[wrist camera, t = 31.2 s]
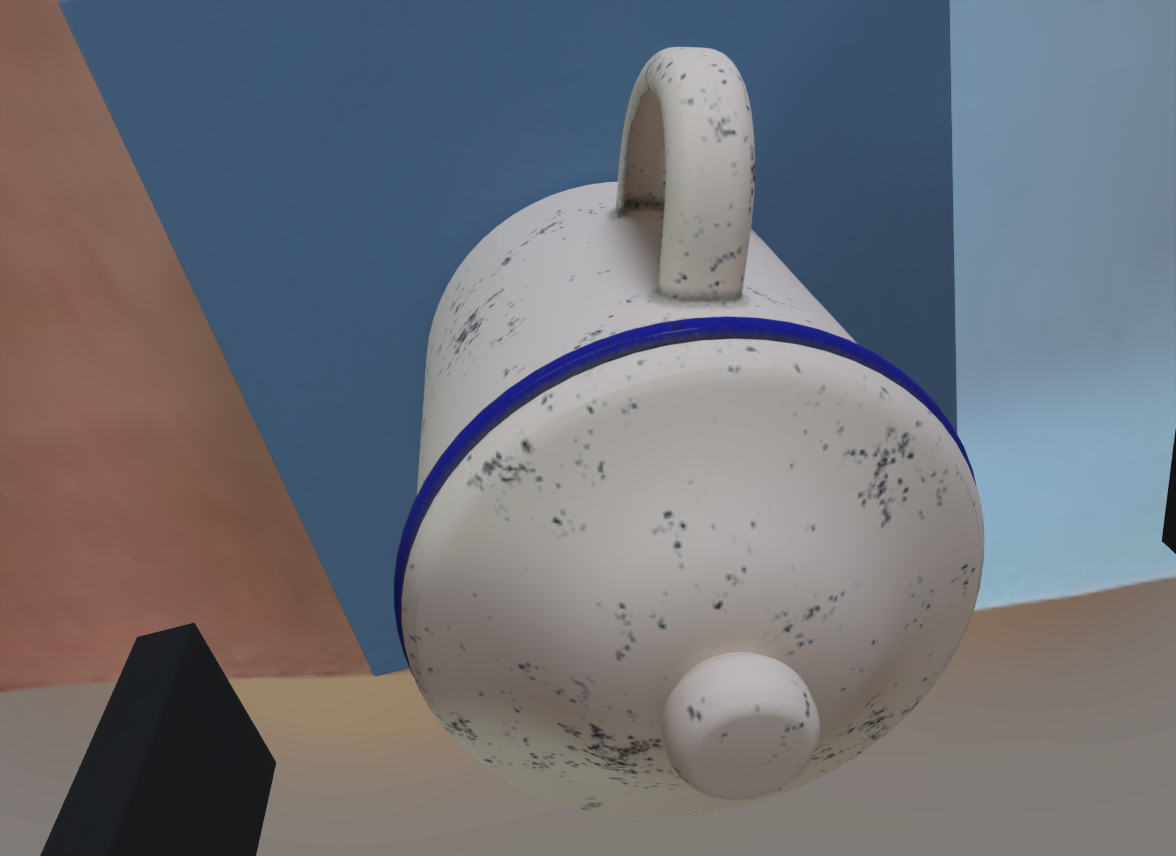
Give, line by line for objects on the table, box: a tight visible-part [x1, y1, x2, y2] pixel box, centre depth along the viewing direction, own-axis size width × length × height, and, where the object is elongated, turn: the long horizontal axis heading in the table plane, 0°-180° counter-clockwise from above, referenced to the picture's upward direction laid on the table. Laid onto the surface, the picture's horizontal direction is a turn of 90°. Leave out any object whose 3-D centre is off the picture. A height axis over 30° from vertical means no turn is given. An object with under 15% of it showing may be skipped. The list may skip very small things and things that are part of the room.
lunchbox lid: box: [59, 0, 957, 676], centre depth 21 cm, size 17×17×1 cm
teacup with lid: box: [394, 47, 984, 817], centre depth 16 cm, size 12×9×12 cm
